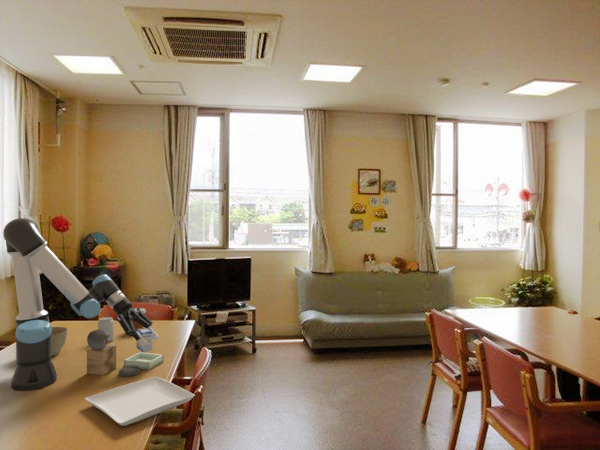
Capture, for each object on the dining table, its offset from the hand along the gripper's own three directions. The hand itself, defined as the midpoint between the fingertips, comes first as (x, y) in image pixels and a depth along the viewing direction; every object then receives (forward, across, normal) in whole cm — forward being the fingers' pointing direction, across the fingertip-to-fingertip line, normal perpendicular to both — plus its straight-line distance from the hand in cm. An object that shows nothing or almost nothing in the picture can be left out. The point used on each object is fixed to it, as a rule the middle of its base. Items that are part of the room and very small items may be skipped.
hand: (150, 341), depth 183 cm
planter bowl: (-32, -2, +46) cm, 56 cm away
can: (-24, +23, +39) cm, 51 cm away
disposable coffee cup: (-22, +44, +37) cm, 61 cm away
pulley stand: (-4, -12, +18) cm, 22 cm away
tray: (+5, 0, +10) cm, 11 cm away
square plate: (+22, -34, -7) cm, 41 cm away
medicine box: (0, 0, +5) cm, 5 cm away
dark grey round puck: (+5, -11, +9) cm, 15 cm away
